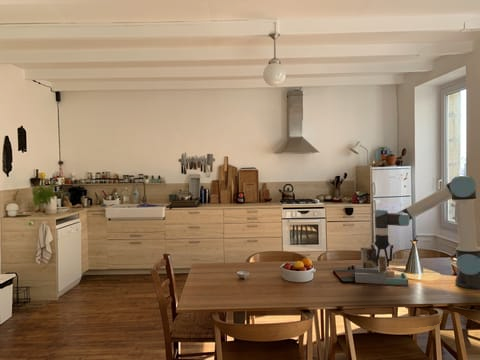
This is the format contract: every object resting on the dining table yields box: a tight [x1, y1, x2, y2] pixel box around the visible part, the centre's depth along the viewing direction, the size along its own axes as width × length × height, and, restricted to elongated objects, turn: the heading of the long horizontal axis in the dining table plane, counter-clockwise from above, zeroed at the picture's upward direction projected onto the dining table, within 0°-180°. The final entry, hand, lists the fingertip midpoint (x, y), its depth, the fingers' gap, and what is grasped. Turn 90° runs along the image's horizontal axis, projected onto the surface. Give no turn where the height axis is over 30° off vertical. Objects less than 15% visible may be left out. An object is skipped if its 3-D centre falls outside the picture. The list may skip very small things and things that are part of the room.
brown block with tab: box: [378, 254, 387, 274], centre depth 224 cm, size 4×8×12 cm, turn 162°
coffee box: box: [360, 246, 378, 269], centre depth 245 cm, size 9×6×16 cm
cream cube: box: [394, 272, 402, 279], centre depth 222 cm, size 4×4×4 cm
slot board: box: [354, 267, 388, 285], centre depth 227 cm, size 18×14×6 cm
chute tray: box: [385, 271, 409, 286], centre depth 222 cm, size 12×14×4 cm
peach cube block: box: [387, 269, 395, 278], centre depth 223 cm, size 4×4×4 cm
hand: (382, 271), depth 224 cm, fingers closed on brown block with tab, 3 cm apart
